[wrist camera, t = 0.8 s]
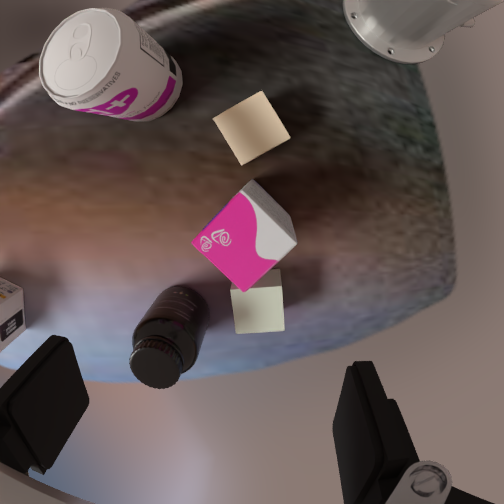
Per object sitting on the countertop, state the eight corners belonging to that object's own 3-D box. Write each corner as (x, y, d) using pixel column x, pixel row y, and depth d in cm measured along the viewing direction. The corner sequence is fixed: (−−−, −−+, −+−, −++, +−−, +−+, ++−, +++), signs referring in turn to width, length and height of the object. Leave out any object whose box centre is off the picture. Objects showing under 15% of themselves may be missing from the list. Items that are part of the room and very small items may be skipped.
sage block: (279, 268, 36) (281, 286, 31) (282, 308, 38) (284, 330, 33) (234, 271, 36) (230, 289, 32) (239, 311, 38) (236, 333, 33)
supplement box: (251, 176, 33) (244, 186, 22) (291, 216, 34) (303, 245, 23) (213, 215, 35) (188, 244, 24) (252, 253, 36) (246, 297, 25)
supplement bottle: (207, 339, 39) (187, 405, 28) (154, 328, 39) (119, 387, 28) (214, 290, 37) (193, 348, 26) (157, 278, 37) (116, 329, 26)
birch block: (262, 99, 31) (261, 90, 26) (287, 140, 32) (290, 137, 27) (220, 123, 32) (212, 118, 27) (245, 164, 33) (241, 165, 28)
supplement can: (181, 121, 32) (122, 101, 17) (112, 123, 32) (26, 113, 18) (188, 51, 29) (138, -8, 15) (118, 56, 30) (43, 15, 15)
